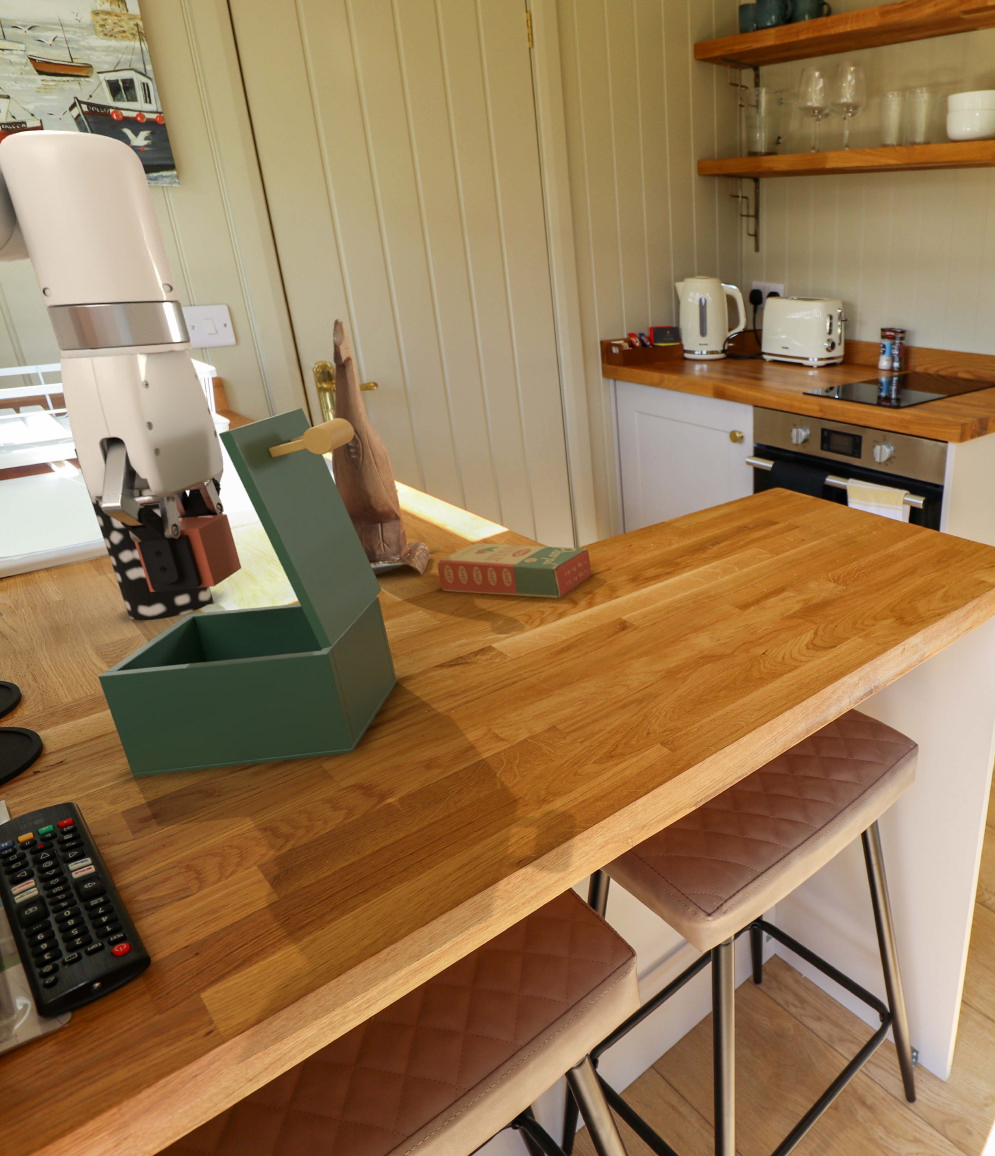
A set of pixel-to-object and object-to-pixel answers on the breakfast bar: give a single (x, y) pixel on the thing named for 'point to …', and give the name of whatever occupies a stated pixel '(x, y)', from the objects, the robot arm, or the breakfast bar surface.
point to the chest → (248, 690)
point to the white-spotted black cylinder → (142, 573)
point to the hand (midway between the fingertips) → (195, 575)
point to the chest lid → (306, 515)
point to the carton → (515, 570)
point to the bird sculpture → (368, 472)
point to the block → (208, 548)
